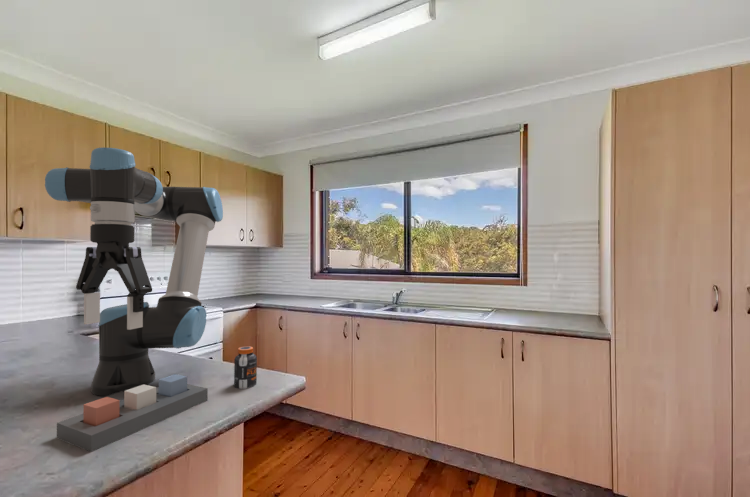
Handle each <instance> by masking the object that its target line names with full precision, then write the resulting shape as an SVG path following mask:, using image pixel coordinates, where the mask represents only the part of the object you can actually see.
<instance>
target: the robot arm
mask: <svg viewBox="0 0 750 497" xmlns="http://www.w3.org/2000/svg"><path fill="white" fill-rule="evenodd" d="M44 187H45V190H46V192H47V194H48V195H49V197H50V198H52V199H53V200H56V201H61V202H62V201H63V202H69V203H71V202H80V203H86V204H88V203H89V204H90V206H89V210H90V221H91V222H92V223H94V224H91V225H90V232H89V233H90V234H89V237H90V238H89V239H90V242H91V243H96V244H97V245H96V246H86V248H85V257H84V260H83V263H82V267H81V270H80V273H79V276H78V280H77V281H76V288H75V289H76V290H78V291H79V290H80V291H81V293H82V294H83V325H92V324H97V323H98V354H99V355H98V364H97V368H96V370H95V372H94V375H93V378H92V380H91V384H90V392H91V394H92V395H94V396H104V397H110V396H111V395H114V394H117V393H120V392H124V391H126V390H129V389H132V388H135V387H138V386H141V385H149V384H151V383H153V382H154V381H156V372H155V369H154V366H153V364H152V362H151V358H150V356H149V349H182V348H191V347H194V346H195V345H196V344H198V343H199V341H200V340H201V339H202V336H203V335H204V332H205V329H206V326H207V311H206V308H205V307H203V306H202V301H201V300H200V299H199V297H198V295H199V288H200V283H201V278H202V273H203V272H202V271H203V265H204V260H205V255H206V248H207V244H208V243H207V242H208V238H209V233H210V231H212V230H214V229H215V225H216V222H217V223H220V222H222V220H223V217H224V212H223V211H224V210H223V203H222V199H221V195H220V193H219V191H218V190H217V189H216V188H214V187H206V186H201V187H197V186H196V187H195V186H194V187H193V186H163V184H162V182H161V181H160V179H159V178H157V177H156V176H154V175H153V174H152V173H150V172H149V171H144V170H141V169H140V168H138V167H136V161H135V156H134V154H133V153H132V152H130V151H128V150H125V149H121V148H116V147H96V148H94V149H93V150H92V151H91V154H90V162H89V168H74V167H72V168H70V167H62V168H60V167H59V168H57V167H56V168H52V169H50V170H48V172H47V173H46V174H45V178H44ZM136 213H137V214H139V215H141V216H143V217H149V218H154V219H158V220H162V221H170V222H176V224H177V225H178V226H179V231H178V236H177V240H176V243H175V244H176V245H175V250H174V254H173V257H172V258H173V259H172V262H171V268H170V272H169V275H168V276H169V277H168V280H167V281H168V282H167V287H166V290H165V294H163V295H162V296H161V297H159V298H158V300H157V304H156V307H155V306H154V307H153V306H152V307H151V306H150V304H149V302H148V301H145V295H146V294H148V293H149V294H150V293H151V292H153V287H152V284H151V282H150V278H149V274H148V272H147V270H146V266H145V263H144V260H143V257H142V256H143V255H142V248H141V246H130V244H132V243H134V242H135V226H134V225H132V224H134V223H135V222H136V216H135V214H136ZM110 270H114V271H116V272H117V273H118V275H119V276H120V278H121V280H122V282H123V284H124V286H125V287H126V289H127V291H128V294H127V296H126V304H122V305H121V304H120V305H116V306H112V307H107V308H104V309H103V310H101V293H100V292H101V290H100V286H101V284H102V283H103V281H104V279H105V277H106V276H107V274H108V272H109V271H110Z"/></svg>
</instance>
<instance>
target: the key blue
mask: <svg viewBox="0 0 750 497" xmlns="http://www.w3.org/2000/svg"><path fill="white" fill-rule="evenodd" d="M187 384H188V376H186V375H181V374H178V373H177V374H176V373H174V374H171V375H169V376H166V377H165V376H164V377H162V378H159V379H158V387H159V395H163V396H167V397H172V396H175V395H177V394H180V393H183V392H185V391H187Z"/></svg>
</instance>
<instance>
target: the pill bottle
mask: <svg viewBox="0 0 750 497" xmlns="http://www.w3.org/2000/svg"><path fill="white" fill-rule="evenodd" d="M257 357H258V356H257V355H256V354H254V347H253V346H250V345H249V346H247V345H246V346H240V347H238V349H237V355H235V357H234V363H233V365H234V366H233V368H234V369H233V370H234V371H233V377H234V378H233V382H234V383H233V387H234V388H236V389H239V390H240V389H242V390H243V389H249V388H252V387H255V386H256V385H257V375H258V374H257V372H258V368H257V367H258V360H257V359H258V358H257Z"/></svg>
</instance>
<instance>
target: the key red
mask: <svg viewBox="0 0 750 497" xmlns="http://www.w3.org/2000/svg"><path fill="white" fill-rule="evenodd" d="M119 401H120V399H117V398H113V397H110V396H104V397H102V398H98V399H96V400H92V401H90V402H87V403H84V404H83V407H82V408H83V413H82V414H83V423H86V424H89V425H91V426H94V427H95V426H98V425H100V424H103V423H105V422H108V421H111V420H113V419H116V418H118V417H119Z"/></svg>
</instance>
